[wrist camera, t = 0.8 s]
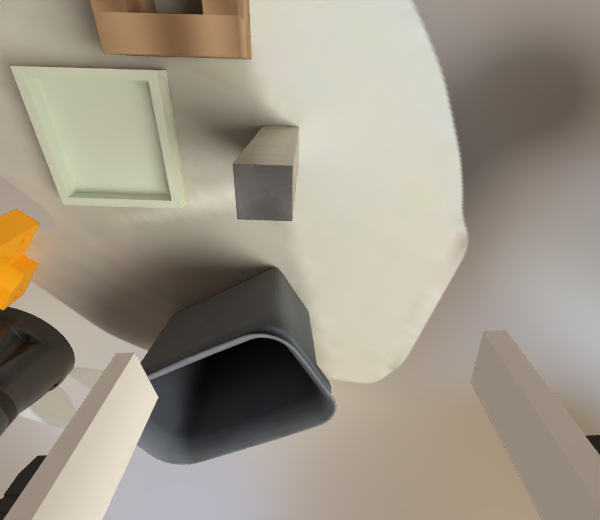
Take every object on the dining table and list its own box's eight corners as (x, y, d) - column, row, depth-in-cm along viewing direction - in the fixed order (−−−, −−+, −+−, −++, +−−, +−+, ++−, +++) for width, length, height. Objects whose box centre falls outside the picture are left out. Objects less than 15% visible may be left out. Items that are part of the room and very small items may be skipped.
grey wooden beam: (264, 162, 32) (237, 219, 20) (263, 126, 30) (232, 163, 18) (298, 163, 32) (292, 221, 20) (299, 126, 30) (292, 165, 18)
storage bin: (286, 238, 36) (274, 325, 24) (343, 328, 43) (357, 431, 31) (146, 306, 42) (78, 405, 29) (216, 376, 49) (186, 480, 36)
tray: (76, 197, 34) (63, 204, 32) (30, 66, 28) (10, 66, 26) (188, 200, 34) (181, 208, 32) (166, 70, 28) (156, 70, 26)
